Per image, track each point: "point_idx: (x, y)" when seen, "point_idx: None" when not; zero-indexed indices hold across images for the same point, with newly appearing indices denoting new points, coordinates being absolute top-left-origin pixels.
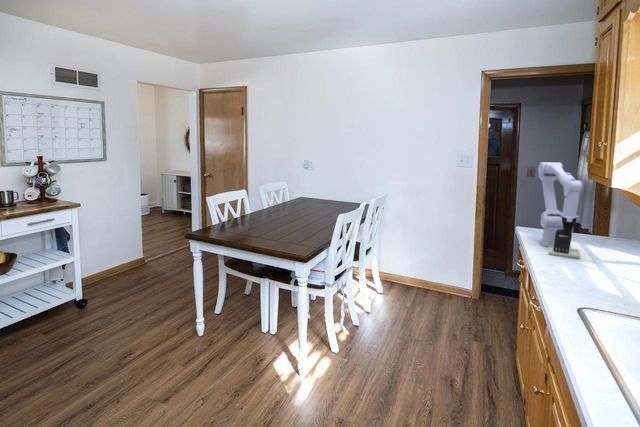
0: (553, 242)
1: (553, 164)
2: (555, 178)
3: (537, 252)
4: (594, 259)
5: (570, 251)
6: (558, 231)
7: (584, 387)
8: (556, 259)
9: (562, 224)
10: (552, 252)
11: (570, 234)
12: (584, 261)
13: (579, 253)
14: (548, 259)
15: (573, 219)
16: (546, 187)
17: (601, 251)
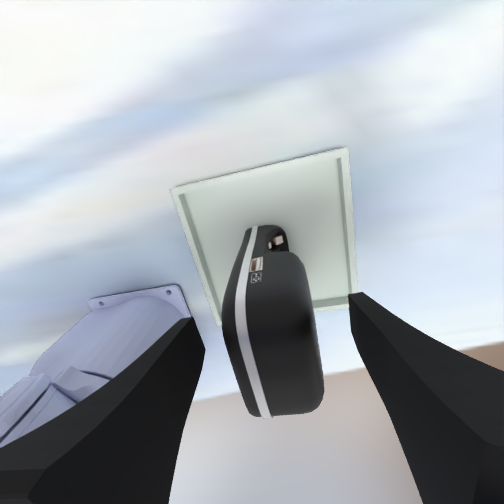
0: (170, 324)
1: None
2: None
3: (342, 339)
4: (277, 60)
5: (214, 223)
6: (323, 393)
7: None
8: (434, 251)
9: (36, 412)
10: (357, 291)
11: (306, 293)
12: (382, 109)
13: (275, 164)
14: (458, 282)
15: (65, 482)
16: None
17: (8, 63)
